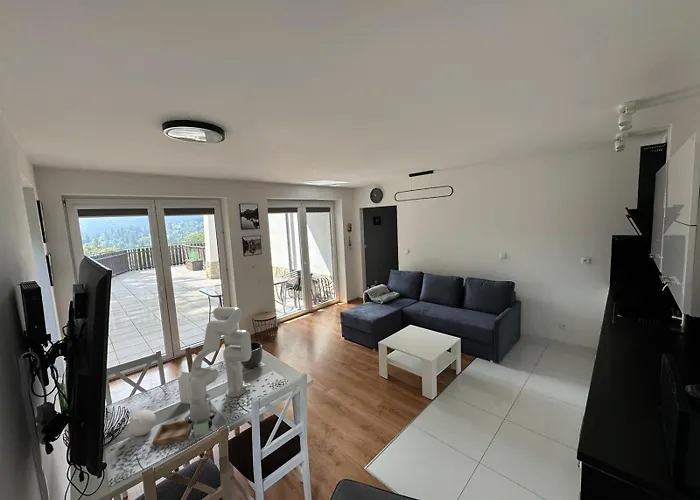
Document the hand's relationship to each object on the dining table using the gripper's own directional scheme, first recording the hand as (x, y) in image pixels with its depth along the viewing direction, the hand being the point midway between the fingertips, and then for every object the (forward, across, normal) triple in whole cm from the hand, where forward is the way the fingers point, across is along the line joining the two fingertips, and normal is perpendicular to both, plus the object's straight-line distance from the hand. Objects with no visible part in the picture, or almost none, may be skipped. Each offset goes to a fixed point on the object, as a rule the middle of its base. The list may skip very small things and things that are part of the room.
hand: (202, 428), depth 157 cm
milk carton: (+1, +14, -31) cm, 34 cm away
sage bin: (+1, 0, 0) cm, 1 cm away
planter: (+1, -22, -61) cm, 65 cm away
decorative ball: (+1, +31, -8) cm, 32 cm away
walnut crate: (+1, +14, -1) cm, 14 cm away
